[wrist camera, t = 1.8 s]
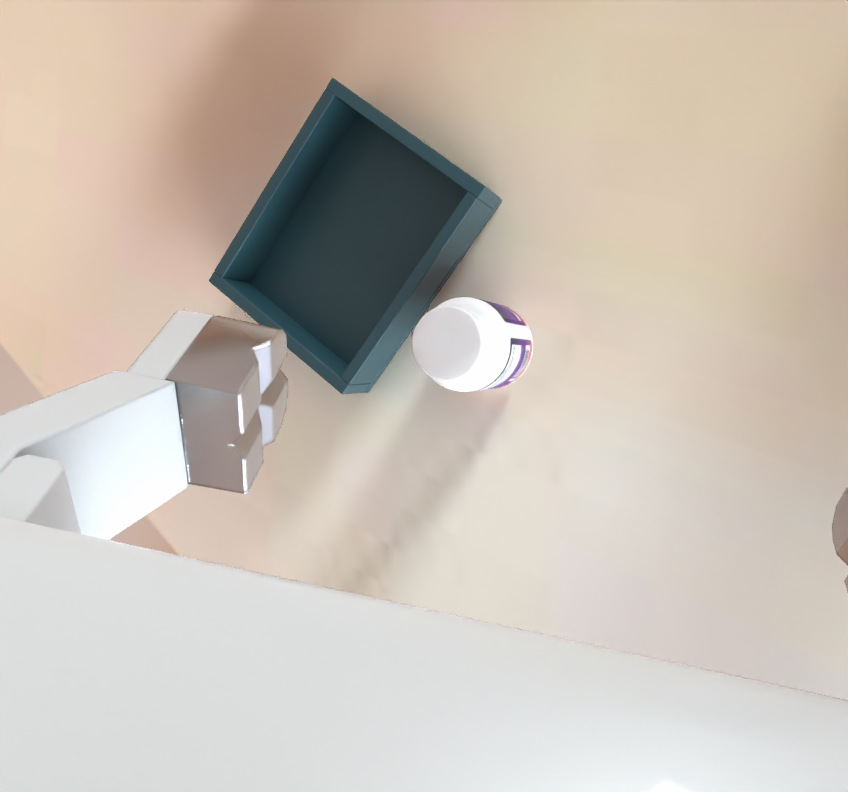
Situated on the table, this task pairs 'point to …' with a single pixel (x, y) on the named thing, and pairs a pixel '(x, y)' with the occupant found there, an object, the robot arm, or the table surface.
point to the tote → (352, 239)
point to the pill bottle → (472, 344)
